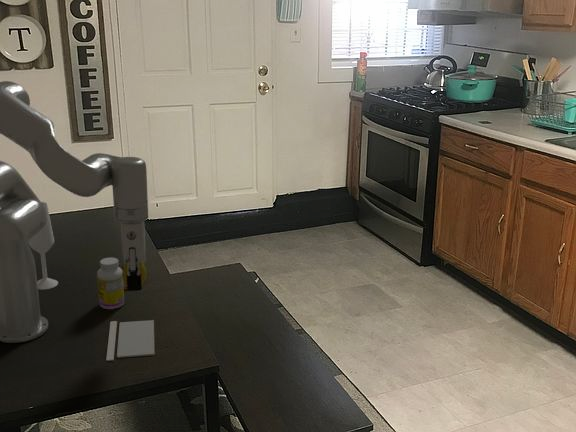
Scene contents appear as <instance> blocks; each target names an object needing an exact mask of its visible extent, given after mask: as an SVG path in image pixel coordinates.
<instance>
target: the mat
mask: <svg viewBox="0 0 576 432" xmlns="http://www.w3.org/2000/svg"><path fill="white" fill-rule="evenodd" d="M116 350H117V351H116V359H121V358H132V357H133V358H134V357H145V356H146V357H147V356H148V357H149V356H155V355H156V354H155V320H154V319H152V320H151V319H149V320H138V321H135V320H134V321H124V322H123V321H122V322H121V321H120V322H119V327H118V337H117V349H116Z"/></svg>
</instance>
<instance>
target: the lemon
mask: <svg viewBox="0 0 576 432" xmlns="http://www.w3.org/2000/svg"><path fill="white" fill-rule="evenodd" d="M129 262H130V260H129ZM135 262H138V259H135ZM123 264H124V265H122V267H123V270H122V277H123V281H124V283H125V284H126V285H127V264H125V263H123ZM139 266H140V274H141V285H142V286H143V285H144V283H145V282H146V280H147V269H146V268H147V267H146V266H145V263H140V264H139ZM136 267H137V265H136Z"/></svg>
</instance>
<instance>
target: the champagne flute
mask: <svg viewBox="0 0 576 432" xmlns="http://www.w3.org/2000/svg"><path fill="white" fill-rule="evenodd" d="M40 202H41V203H42V204H43V206H44V208H45V210H46V214H47V220H46V224H45V226H44V227H43V228H42V229H41V230H40V231H39V232H38V233H37V234H35V235H34V236H33V237H32V238H31V239H30V240H29V242H28V244H29V248H30V249H31V250H33V251H35V252H36V253H38V254H40V262H41V271H42V278H41V279H39V280H37V285H38V290H49V289H52V288H55V287H57V286H58V285H59V281H58V280H56V279H53V278H49V277H48V272H47V262H46V261H47V259H46V253H47V252H48V251H49V250H50V249H52V247H53V245H54V244H55V237H54V233H53V228H52V222H51V217H50V212H49V207H48V203H47V202H44V201H40Z"/></svg>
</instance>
